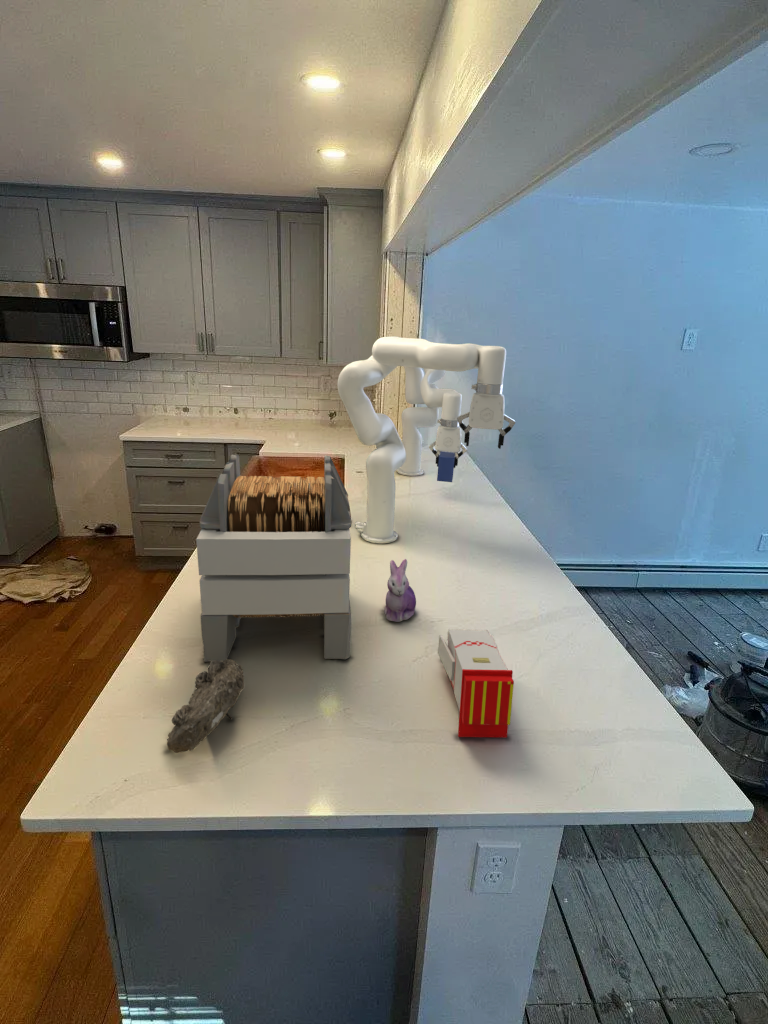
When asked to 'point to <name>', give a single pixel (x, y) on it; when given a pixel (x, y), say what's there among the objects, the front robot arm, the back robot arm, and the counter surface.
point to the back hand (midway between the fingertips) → (446, 466)
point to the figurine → (399, 594)
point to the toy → (478, 682)
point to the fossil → (206, 705)
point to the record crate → (275, 555)
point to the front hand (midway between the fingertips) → (483, 446)
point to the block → (446, 466)
